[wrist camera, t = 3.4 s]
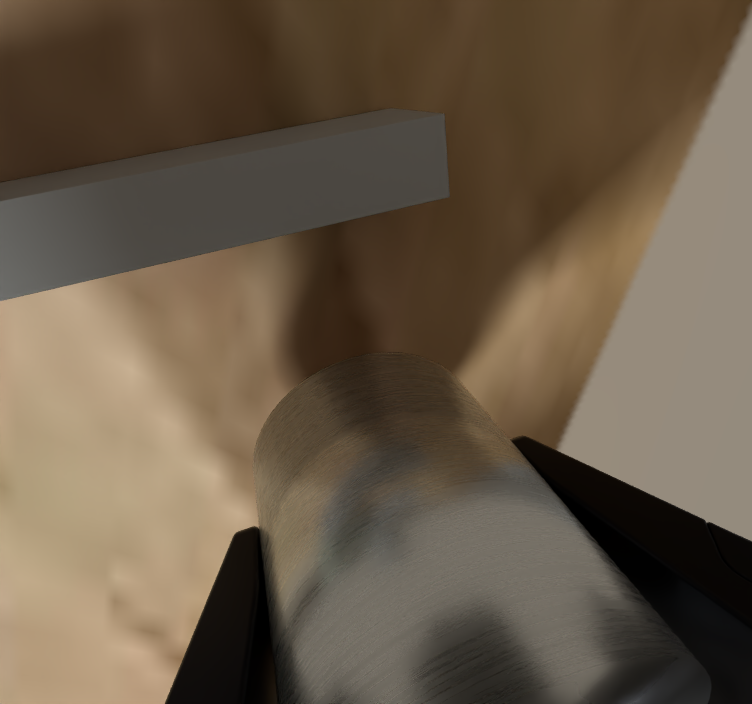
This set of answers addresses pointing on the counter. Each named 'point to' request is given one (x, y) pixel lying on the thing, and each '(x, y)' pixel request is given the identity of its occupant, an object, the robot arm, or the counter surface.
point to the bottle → (438, 558)
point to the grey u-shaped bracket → (215, 196)
